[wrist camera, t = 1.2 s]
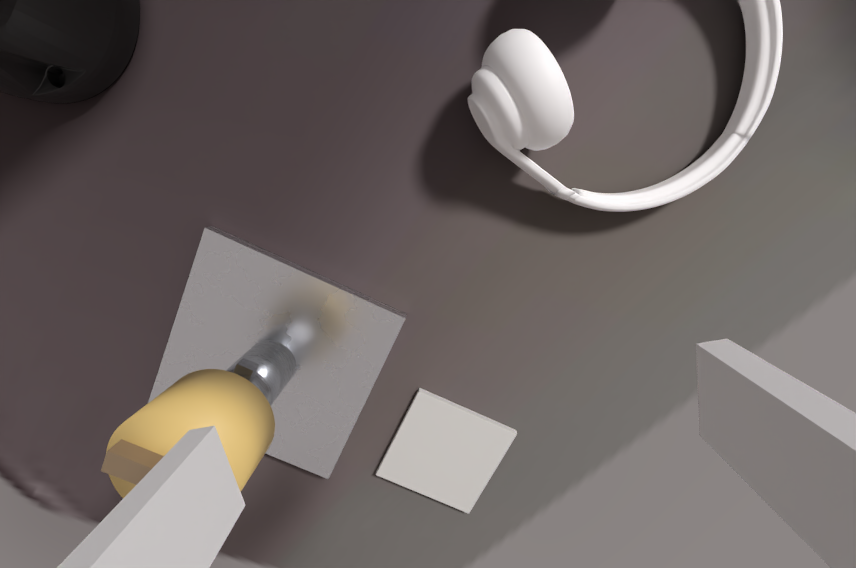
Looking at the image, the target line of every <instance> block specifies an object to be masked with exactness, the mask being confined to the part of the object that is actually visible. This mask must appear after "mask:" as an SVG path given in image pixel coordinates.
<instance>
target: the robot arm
mask: <svg viewBox="0 0 856 568" xmlns="http://www.w3.org/2000/svg"><path fill="white" fill-rule="evenodd" d="M139 20H140V6H139V0H0V91H1V92H4V93H7V94H10V95H13V96H17V97H22V98H27V99H32V100H38V101H43V102H48V103H73V102H78V101H82V100H86V99H88V98H91V97H93V96H95V95H97V94H99V93H101V92H102V91H104V90H105V89H107V88H108V87H109V86H110V85H111V84H112V83H113V82H114V81H115V80H116V79H117V78H118V77H119V76H120V75H121V73H122V72H123V70H124V69H125V67H126V66H127V64H128V62H129V60H130V58H131V56H132V53H133V50H134V48H135V44H136V41H137V36H138V30H139ZM696 352H697V379H698V404H699V431H700V432H699V433H700V436H701V437H702V438H703V439H704V440H705V441H706V442H707V443H708V444H709V445H710V446H711V447H712V449H713V450H714V451H715V452H716V453H717V454H718V455H719V456H720V457H721V458H722V459H723V460H724V461H725V462H726V463H727V464H728V465H729V466H730V467H732V469H733V470H734V471H735V472H736V473H737V474H738V475H739V476H740V477H741V478H742V479H743V480H744V481H745V482H746V483H747V484H748V485H749V486H750V487H751V488H752V489H753V490H754V491H755V492H756V493H757V494H758V495H759V496H760V497H761V498H762V499H763V500H764V501H765V502H766V503H767V504H768V505H769V506H770V507H771V508H772V509H773V510H774V511H775V512H776V513H777V514H778V515H779V516H780V517H781V518H782V519H783V520H784V521H785V522H786V523H787V524H788V525H789V526H790V527H791V528H792V530H793V531H794V532H795V533H796V534H797V535H798V536H799V537H800V538H801V539H802V540H803V541H804V542H805V543H806V544H807V545H808V546H809V547H810V548H811V549H813V551H814V552H815V553H816V554H817V555H818V556H819V557H820V558H821V559H822V560H823V561H824V562H825V563H826V564H827V565H828V566H829V567H830V568H856V413H854V412H853V411H851V410H849V409H848V408H846V407H844V406H842V405H840V404H839V403H837V402H835V401H834V400H832V399H830V398H829V397H827V396H825V395H823V394H822V393H820V392H818V391H816V390H815V389H813V388H811V387H810V386H808V385H806V384H804V383H803V382H801V381H799V380H797V379H796V378H794V377H792V376H791V375H789V374H787V373H786V372H784V371H782V370H780V369H778V368H777V367H775V366H773V365H772V364H770V363H768V362H767V361H765V360H763V359H761V358H760V357H758V356H756V355H755V354H753V353H751V352H749V351H748V350H746V349H744V348H742V347H741V346H739V345H737V344H736V343H734V342H732V341H730V340H729V339H722V340H716V341H710V342H704V343H698V344H696ZM244 507H245V503H244V500H243V498H242V495H241V492H240V490H239V487H238V485H237V482H236V479H235V477H234V474H233V472H232V469H231V466H230V464H229V461H228V458H227V456H226V453H225V451H224V448H223V445H222V443H221V440H220V438H219V435H218V432H217V430H216V427H215V426H210V427H204V428H198V429H192V430H189V431H188V432H187V433H186V434H185V435H184V436H183V437H182V438H181V439H180V440H179V441H178V442H177V443H176V444H175V445H174V446H173V447H172V448H171V450H170V451H169V452H168V453H167V454H166V455H165V456H164V457H163V458H162V459H161V460H160V461H159V462H158V463H157V464H156V465H155V466H154V467H153V468H152V469H151V470H150V471H149V472H148V473H147V474H146V476H145V477H144V478H143V479H142V480H141V481H140V482H139V483H138V484H137V485H136V486H135V487H134V488H133V489H132V490H131V491H130V492H129V493H128V494H127V495H126V496H125V497H124V498H123V499H122V500H121V502H120V503H119V504H118V505H117V506H116V507H115V508H114V509H113V510H112V511H111V512H110V513H109V514H108V515H107V516H106V517H105V518H104V519H103V520H102V521H101V522H100V523H99V524H98V525H97V527H96V528H95V529H94V530H93V531H92V532H91V533H90V534H89V535H88V536H87V537H86V538H85V539H84V540H83V541H82V542H81V543H80V544H79V545H78V546H77V547H76V548H75V549H74V551H72V553H71V554H70V555H69V556H68V557H67V558H66V559H65V560H64V561H63V562H62V563H61V564H60V565H59V566H58V567H57V568H210V566H211V563H212V562H213V561H214V559H215V557H216V555H217V554H218V552H219V550H220V549H221V547H222V545H223V543H224V542H225V540H226V538H227V536H228V535H229V533H230V531H231V529H232V528H233V526H234V524H235V523H236V521H237V519H238V517H239V516H240V514H241V512H242V510H243V509H244Z"/></svg>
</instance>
